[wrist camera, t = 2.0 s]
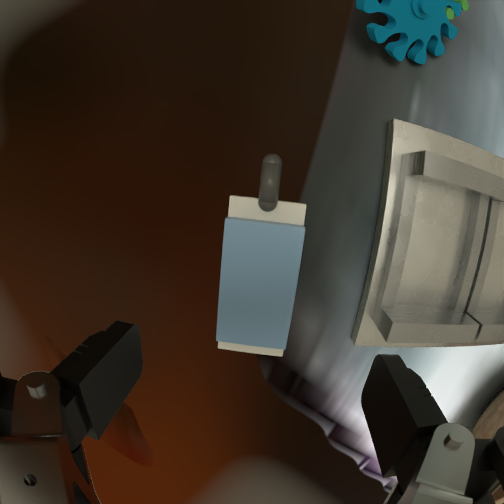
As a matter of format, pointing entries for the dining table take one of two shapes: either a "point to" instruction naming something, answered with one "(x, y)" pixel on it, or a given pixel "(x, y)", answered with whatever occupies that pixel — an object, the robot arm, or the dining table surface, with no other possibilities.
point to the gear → (414, 25)
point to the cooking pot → (492, 432)
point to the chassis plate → (435, 245)
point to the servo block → (260, 267)
